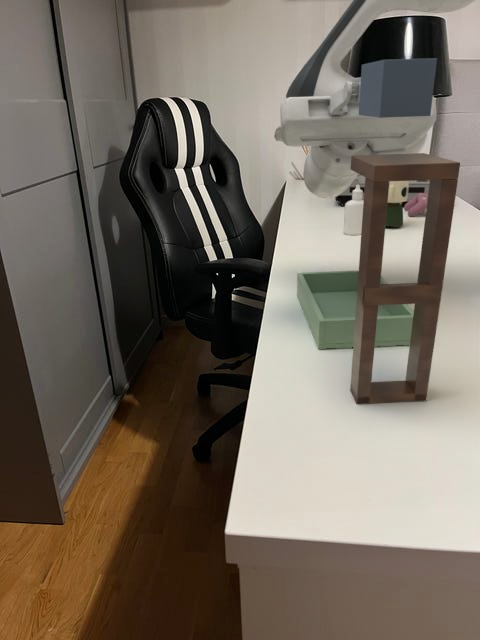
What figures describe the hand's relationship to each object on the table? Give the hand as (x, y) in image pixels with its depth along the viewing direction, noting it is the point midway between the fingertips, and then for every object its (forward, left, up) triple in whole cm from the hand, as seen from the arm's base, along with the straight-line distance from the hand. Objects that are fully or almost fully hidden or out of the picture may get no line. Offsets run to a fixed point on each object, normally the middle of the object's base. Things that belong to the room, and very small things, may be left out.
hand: (371, 85), depth 59 cm
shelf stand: (0, +13, -33) cm, 35 cm away
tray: (-1, -7, -33) cm, 34 cm away
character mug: (-26, -65, -33) cm, 77 cm away
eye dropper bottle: (-15, -59, -33) cm, 69 cm away
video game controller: (-38, -79, -33) cm, 94 cm away
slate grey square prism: (0, +5, -3) cm, 6 cm away
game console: (-35, -99, -33) cm, 110 cm away
